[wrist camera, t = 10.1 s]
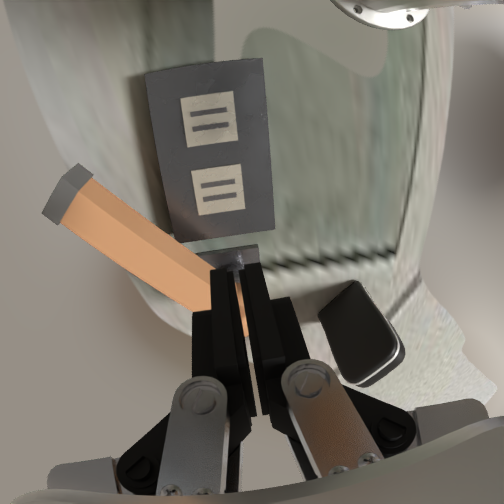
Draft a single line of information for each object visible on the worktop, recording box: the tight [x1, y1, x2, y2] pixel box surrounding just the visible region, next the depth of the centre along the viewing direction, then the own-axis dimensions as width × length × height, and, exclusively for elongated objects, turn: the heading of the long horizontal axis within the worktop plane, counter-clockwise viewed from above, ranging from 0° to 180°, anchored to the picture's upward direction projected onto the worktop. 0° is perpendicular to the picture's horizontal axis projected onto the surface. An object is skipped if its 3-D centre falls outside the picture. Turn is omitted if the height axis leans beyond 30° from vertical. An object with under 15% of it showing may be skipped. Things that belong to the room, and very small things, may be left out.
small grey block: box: [197, 244, 260, 283], centre depth 32 cm, size 6×6×4 cm
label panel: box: [144, 58, 275, 243], centre depth 25 cm, size 9×15×2 cm, turn 5°
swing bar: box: [42, 163, 249, 337], centre depth 25 cm, size 4×20×3 cm, turn 45°
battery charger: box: [318, 281, 405, 388], centre depth 33 cm, size 7×4×11 cm, turn 136°
